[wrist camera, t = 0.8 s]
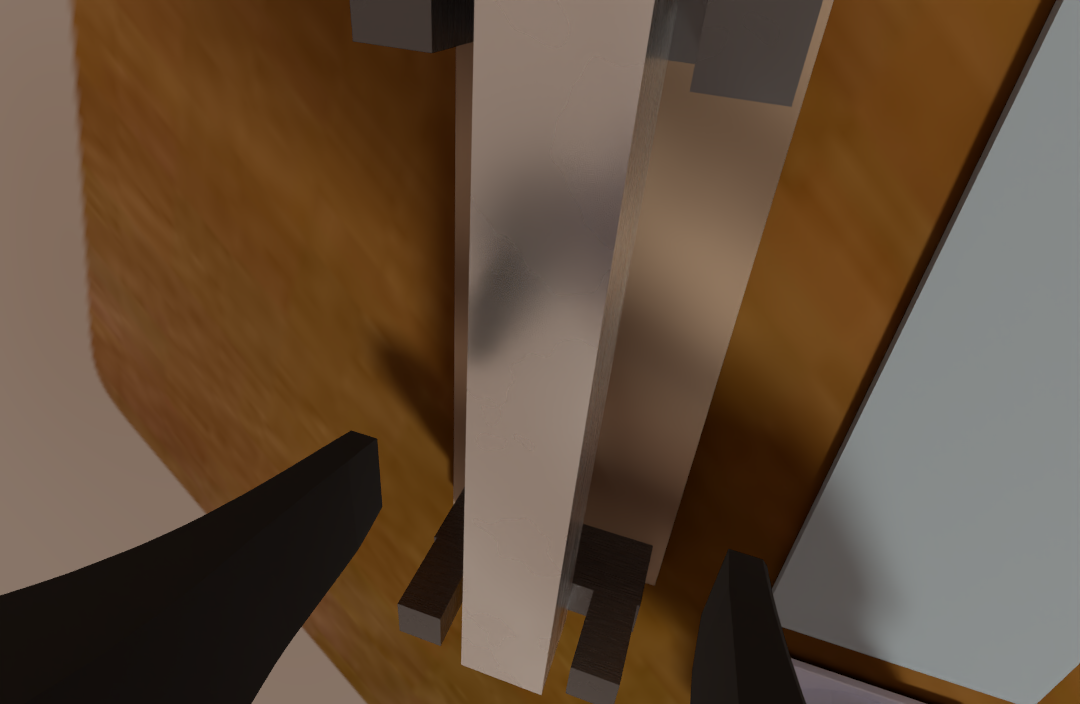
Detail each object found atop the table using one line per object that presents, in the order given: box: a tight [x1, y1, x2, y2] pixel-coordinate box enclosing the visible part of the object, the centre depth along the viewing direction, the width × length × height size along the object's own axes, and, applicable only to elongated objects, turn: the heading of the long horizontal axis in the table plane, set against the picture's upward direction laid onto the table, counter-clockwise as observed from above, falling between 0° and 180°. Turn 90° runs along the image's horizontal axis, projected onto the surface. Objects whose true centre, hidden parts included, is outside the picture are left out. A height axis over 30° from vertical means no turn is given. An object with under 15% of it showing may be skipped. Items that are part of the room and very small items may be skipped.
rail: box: [461, 0, 679, 695], centre depth 17 cm, size 22×3×3 cm, turn 175°
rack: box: [350, 0, 834, 704], centre depth 18 cm, size 22×9×7 cm, turn 175°
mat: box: [772, 0, 1080, 704], centre depth 18 cm, size 24×10×1 cm, turn 175°
